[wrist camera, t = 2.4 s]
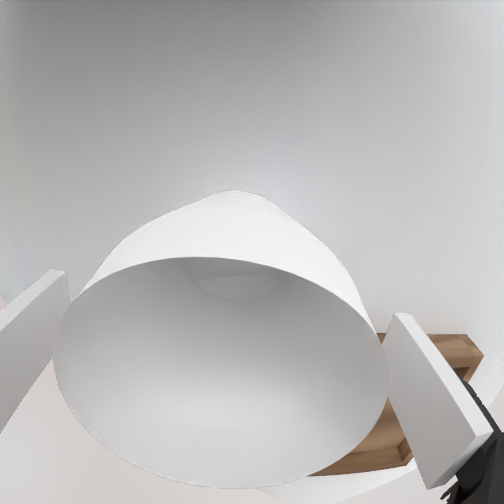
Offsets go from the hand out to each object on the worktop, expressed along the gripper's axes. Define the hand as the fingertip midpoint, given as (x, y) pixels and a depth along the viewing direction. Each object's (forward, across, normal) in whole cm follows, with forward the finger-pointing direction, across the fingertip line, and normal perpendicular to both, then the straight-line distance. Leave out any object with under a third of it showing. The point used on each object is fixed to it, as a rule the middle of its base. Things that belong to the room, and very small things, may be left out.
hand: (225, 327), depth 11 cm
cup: (+8, 0, +1) cm, 8 cm away
